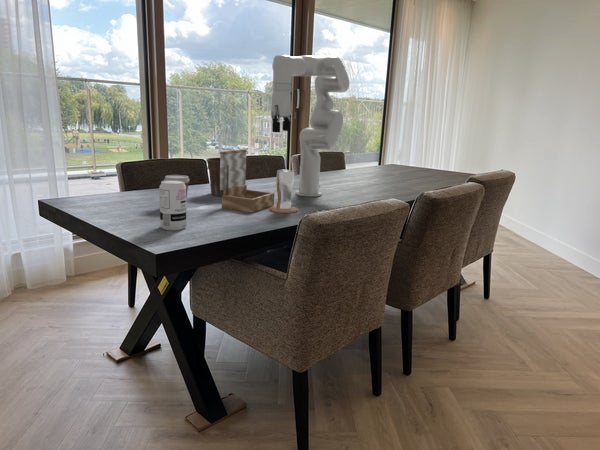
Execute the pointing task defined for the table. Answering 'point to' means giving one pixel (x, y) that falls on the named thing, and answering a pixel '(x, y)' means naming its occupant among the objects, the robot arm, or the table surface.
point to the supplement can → (172, 205)
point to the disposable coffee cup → (179, 179)
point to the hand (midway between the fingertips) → (281, 131)
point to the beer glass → (284, 188)
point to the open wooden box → (239, 184)
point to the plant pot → (215, 176)
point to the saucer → (283, 210)
